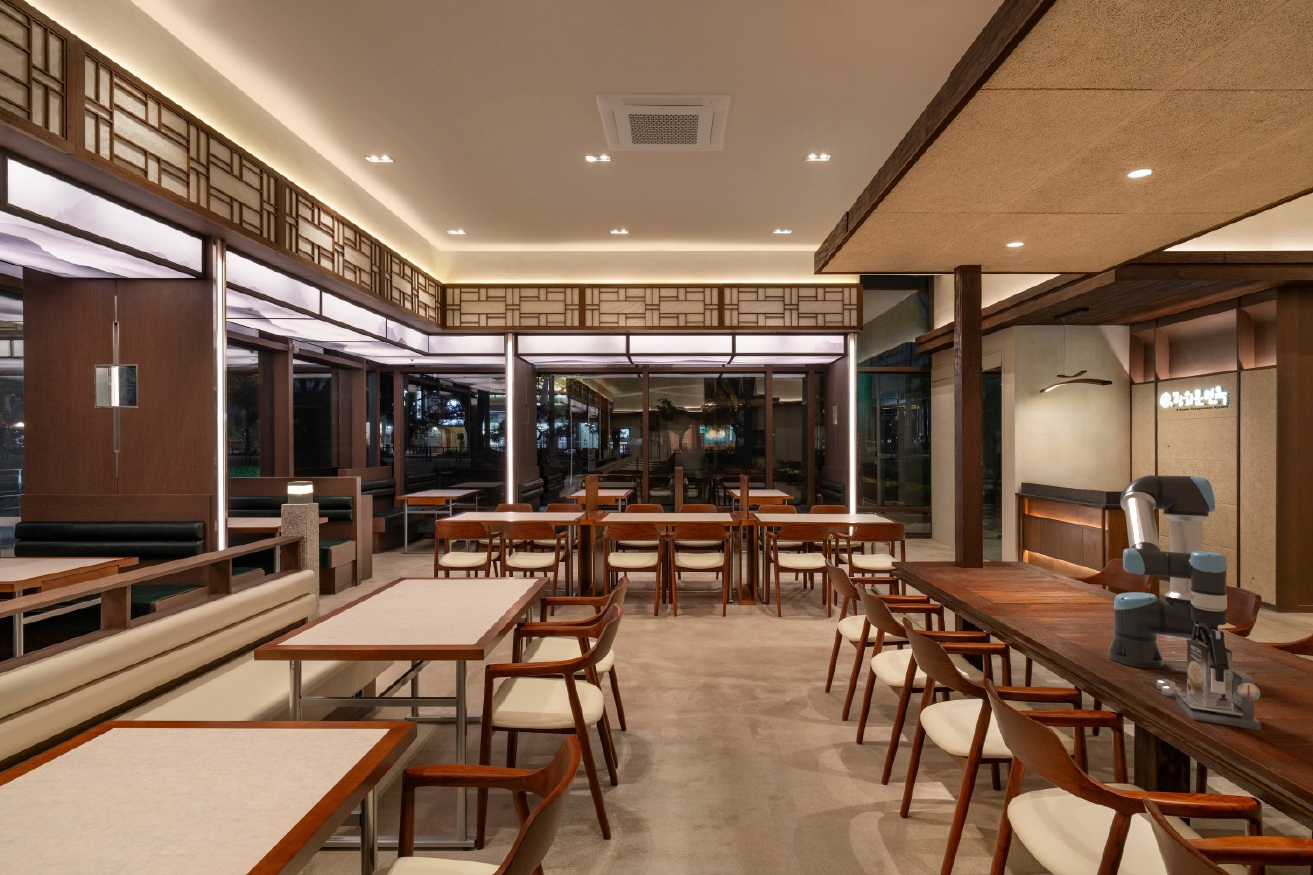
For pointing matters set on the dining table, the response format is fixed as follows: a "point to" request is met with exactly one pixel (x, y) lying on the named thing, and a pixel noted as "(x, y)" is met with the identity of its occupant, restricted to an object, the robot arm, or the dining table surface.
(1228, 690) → the coffee box
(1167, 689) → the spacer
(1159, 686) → the cylinder
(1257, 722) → the scale
